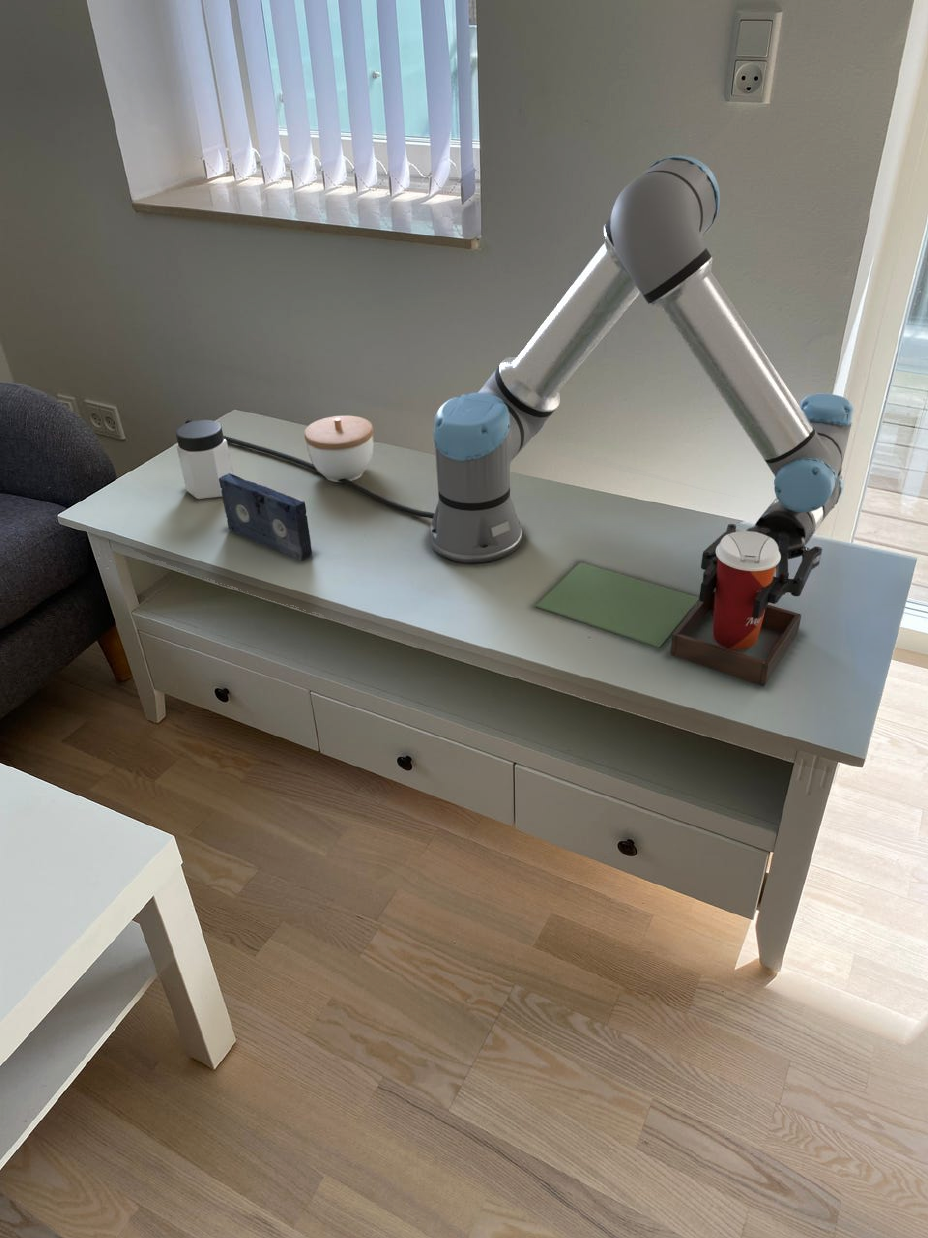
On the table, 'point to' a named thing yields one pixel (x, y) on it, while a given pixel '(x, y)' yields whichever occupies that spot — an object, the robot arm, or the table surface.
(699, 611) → the crate
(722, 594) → the coffee cup
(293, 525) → the vhs cassette tape
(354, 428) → the lidded bowl
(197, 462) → the jar
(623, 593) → the mat
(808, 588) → the table surface
